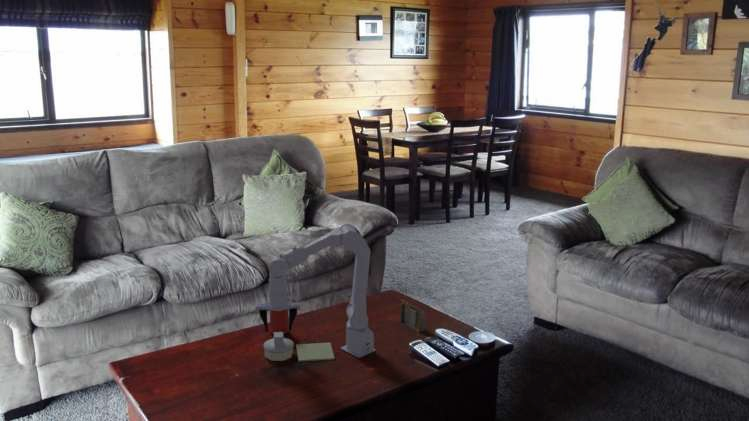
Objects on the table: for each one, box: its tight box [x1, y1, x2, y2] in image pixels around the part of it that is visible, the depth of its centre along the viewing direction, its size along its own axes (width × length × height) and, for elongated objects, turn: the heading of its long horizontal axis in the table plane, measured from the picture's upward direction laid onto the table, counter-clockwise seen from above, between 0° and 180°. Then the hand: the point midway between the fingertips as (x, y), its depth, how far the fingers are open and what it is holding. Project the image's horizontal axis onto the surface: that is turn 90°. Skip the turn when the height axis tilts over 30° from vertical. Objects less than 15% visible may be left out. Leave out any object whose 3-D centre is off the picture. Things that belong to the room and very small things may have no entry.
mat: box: [295, 342, 336, 363], centre depth 231 cm, size 12×12×1 cm
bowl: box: [264, 348, 294, 362], centre depth 228 cm, size 9×9×3 cm
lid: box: [263, 332, 295, 353], centre depth 227 cm, size 10×10×4 cm
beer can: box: [269, 310, 289, 336], centre depth 244 cm, size 7×7×12 cm
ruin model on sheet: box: [400, 299, 426, 333], centre depth 253 cm, size 11×3×10 cm, turn 34°
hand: (278, 330), depth 226 cm, fingers open, 7 cm apart
